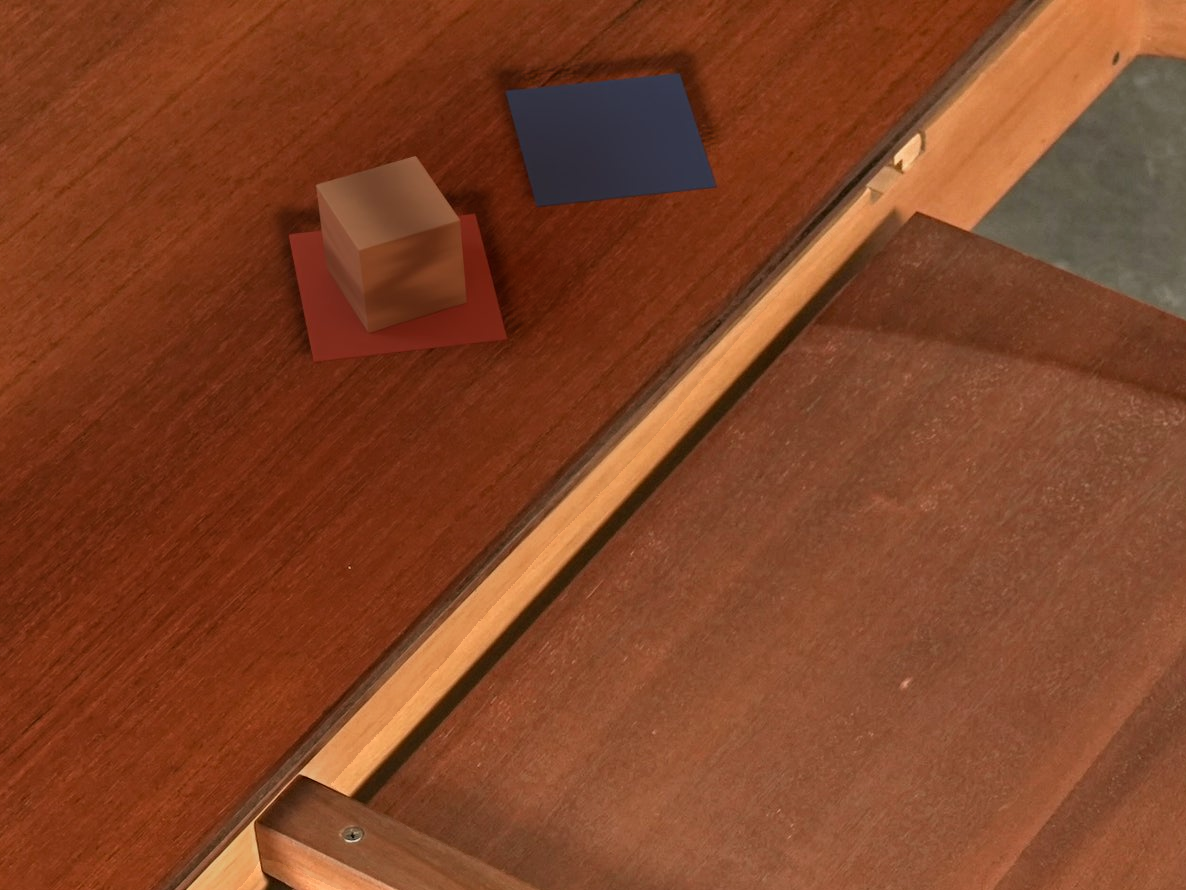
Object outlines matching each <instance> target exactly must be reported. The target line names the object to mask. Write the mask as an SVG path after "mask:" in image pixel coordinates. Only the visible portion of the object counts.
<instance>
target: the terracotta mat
mask: <svg viewBox="0 0 1186 890" xmlns="http://www.w3.org/2000/svg"><path fill="white" fill-rule="evenodd" d="M457 216H458V218H459V219H460V226H461V239H462V251H463V264H464V276H465V288H466V301H467V302H466V303H464V304H461V305H458V306H455V307H451V308H448V309H445V310H442V311H439V312H435V313H432V314H429V315H426V316H422V317H419V318H416V319H413V320H410V321H406V322H403V323H400V324H397V325H393V326H390V327H387V328H384V329H381V330H377V331H374V332H371V333H368V331H367V330H366V328H365V327H364V325H363V324H362V322H361V320H360V319H359V317H358V316H357V314H356V313H355V311H354V310H353V308H352V306H351V305H350V303H349V302H348V300H347V299H346V297H345V296H344V294H343V293H342V291H341V289H340V288H339V286H338V285H337V283H336V282H335V280H334V279H333V277H332V275H331V274H330V272H329V271H328V269H327V266H326V258H325V251H324V243H323V235H322V230H316V231H306V232H296V233H289V234H288V239H289V244H290V245H289V246H290V250H291V254H292V258H293V259H292V260H293V264H294V265H293V266H294V270H295V275H296V280H297V285H298V290H299V295H300V300H301V304H302V310H303V315H304V320H305V325H306V331H307V335H308V340H309V345H310V351H311V356H312V360H313V363H324V362H331V361H339V360H340V361H341V360H346V359H347V360H348V359H355V358H365V357H373V356H381V355H389V354H399V353H407V352H416V351H423V350H430V349H440V348H448V347H455V346H456V347H457V346H465V345H473V344H480V343H481V344H482V343H489V342H490V343H491V342H497V341H506V340H508V336H507V333H506V328H505V325H504V321H503V317H502V313H501V308H500V305H499V301H498V297H497V294H496V290H495V286H494V285H495V284H494V282H493V277H492V273H491V269H490V265H489V262H488V258H487V253H486V250H485V246H484V241H483V238H482V233H481V230H480V226H479V223H478V218H477V215H476V213H470V214H461V215H457Z"/></svg>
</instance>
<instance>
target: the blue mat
mask: <svg viewBox="0 0 1186 890" xmlns="http://www.w3.org/2000/svg"><path fill="white" fill-rule="evenodd" d="M505 95H506V98H507V103H508V106H509V109H510V110H509V111H510V114H511V117H512V122H513V124H514V128H515V133H516V136H517V139H518V143H519V147H520V150H521V154H522V157H523V161H524V166H525V168H526V172H527V176H528V180H529V184H530V187H531V192H532V195H533V198H534V201H535V205H536V207H537V208H543V207H552V206H553V207H554V206H562V205H569V204H579V203H587V202H598V201H607V200H616V199H624V198H635V197H642V196H643V197H645V196H652V195H659V194H660V195H661V194H671V193H681V192H689V191H697V190H706V189H715V188H717V183H716V180H715V177H714V174H713V171H712V168H711V165H710V162H709V159H708V156H707V153H706V150H705V147H704V143H703V140H702V137H701V134H700V131H699V128H698V124H697V122H696V119H695V116H694V112H693V109H692V107H691V103H690V100H689V97H688V94H687V90H686V88H685V84H684V82H683V79H682V75H681V73H668V74H657V75H649V76H639V77H630V78H629V77H628V78H619V79H610V80H609V79H608V80H600V81H598V80H597V81H589V82H580V83H579V82H578V83H571V84H570V83H569V84H559V85H551V86H540V87H530V88H521V89H511V90H505Z"/></svg>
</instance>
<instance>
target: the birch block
mask: <svg viewBox="0 0 1186 890" xmlns="http://www.w3.org/2000/svg"><path fill="white" fill-rule="evenodd" d="M315 189H316V195H317V205H318V211H319V219H320V220H319V221H320V226H321V231H322V235H323V243H324V251H325V258H326V266H327V269H328V271H329V272H330V274H331V275H332V277H333V279H334V280H335V282H336V283H337V285H338V286H339V288H340V289H341V291H342V293H343V294H344V296H345V297H346V299H347V300H348V302H349V303H350V305H351V306H352V308H353V310H354V311H355V313H356V314H357V316H358V317H359V319H360V320H361V322H362V324H363V325H364V327H365V328H366V330H367V331H368V333H371V332H374V331H377V330H381V329H384V328H387V327H390V326H393V325H397V324H400V323H403V322H406V321H410V320H413V319H416V318H419V317H422V316H426V315H429V314H432V313H435V312H439V311H442V310H445V309H448V308H451V307H455V306H458V305H461V304H464V303H466V302H467V301H466V288H465V276H464V264H463V251H462V239H461V226H460V219H459V218H458V216H459V215H457V213H456V212H455V210H454V209H453V208H452V206H451V205H450V203H449V202H448V201H447V199H446V197H445V196H444V195H443V193H442V192H441V190H440V189H439V187H438V186H437V184H436V183H435V181H434V180H433V179H432V177H431V176H430V173H428V171H427V170H426V168H425V167H424V165H423V164H422V162H421V161H420V160H419V158H418V157H417V156H416V155H414V156H411V157H407V158H403V159H400V160H396V161H393V162H389V163H386V164H382V165H379V166H376V167H372V168H369V169H365V170H361V171H359V172H355V173H352V174H348V175H343V176H341V177H338V178H335V179H331V180H328V181H324V182H320V183H317V184H316V185H315Z"/></svg>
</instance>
